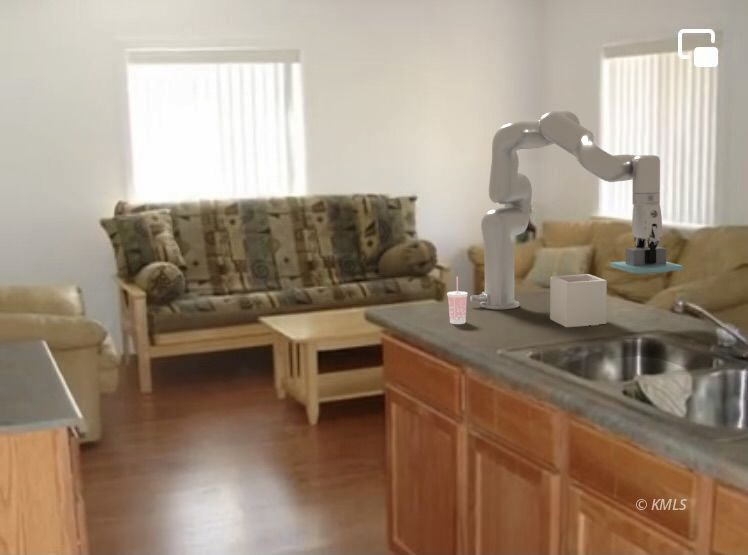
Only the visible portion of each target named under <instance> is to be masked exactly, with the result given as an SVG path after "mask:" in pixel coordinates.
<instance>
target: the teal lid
mask: <svg viewBox="0 0 748 555" xmlns="http://www.w3.org/2000/svg"><path fill="white" fill-rule="evenodd" d="M645 250H647V249H646V246H645V247H643V248H636V247H631V248H628V247H627V248H625V261H613V262H611V261H610V262H609V265H610V266H609V267H611V268H614V269H617V270H620V271H625V272H627V273H631V274H636V275H645V274H646V275H647V274H659V273H661V274H662V273H669V272H676V271H684V266H683V265H681V264H677V263H673V262H670V261H667V248H665V247H662V246H657V250H656V263H655V264H645Z"/></svg>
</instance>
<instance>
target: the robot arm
mask: <svg viewBox="0 0 748 555" xmlns="http://www.w3.org/2000/svg"><path fill="white" fill-rule="evenodd" d="M594 138H595V136H594V133H593V132H592V131H591V130H589V129H588V128H586V127H584V126H582V125H581V124H580V119H579V117H578V116H577V115H576V114H575V113H573V112H571V111H567V110H555V111H554V110H553V111H549V112H546V113H545V114H543V115H542V116H541V118H540V119H539V120H535V121H533V120H532V121H529V120H528V121H523V120H522V121H513V122H509V123H506V124H504V125H502V126H501V127H499V128H498V129H497V131H496V132H495V134H494V136H493V138H492V144H491V165H490V173H489V175H490V176H489V181H488V182H489V184H488V185H489V186H488V197H489V200H490V201H491V202H492V203H494V204H496V205H504V207H498V208H493V209H491V210H489V211H486V213H485V214H484V215H483V217H482V219H481V224H480V226H481V229H480V230H481V233H482V234H481V235H482V237H483V246H484V247H483V249H484V250H483V252H484V253H483V254H484V258H483V259H484V291H481V293H480V294H479V295H475V294H474V295H470V297H469V299H470V302H476V303H478V302H479V307H480V308H482V309H487V310H512V309H516V308H518V307H520V302H519V301H517V300H515V248H514V244H513V241H512V238H511V237H516V236H519V235H522V234H523V233H524V232H525V231H526V230H527V228H528V226H529V222H530V216H531V206H532V205H531V204H532V198H533V197H532V196H533V188H532V183H531V181H530V179H529V177H527V176H526V175H524V173H522V172H521V173H520V172H518V171H519V165H520V164H519V162H520V161H519V156H518V155H519V154H518V152H517V151H519V150H531V149H533V150H534V149H540V148H541V149H542V148H544V147H548V146H551V145H556V146H558V147H559V148H561V149H563V150H564V151H566V152H568V154H570V155H572V156H574V157H575V160H577V161H578V163H579V164H580V165H581V167H583V169H585V170H587V171H588V172H589V173H590V174H592V175H594V176H596V177H597V178H599V179H601V180H602V181H605V182H608V183H617V182H624V181H632V205H633V207H632V218H631V219H632V220H631V233H632V234H631V235H632V237H633V240H634V248H643V247H646V249H647V250H645V264H655V263H656V250H657V247H658V245H659V243H660V241H661V239H662V237H663V219H662V210H661V160H660V157H659V156H658V155H653V154H650V155H649V154H647V155H646V154H644V155H642V154H641V155H634V154H614V155H613V154H610V153H609V152H607V151H605V150H604V149H602V148H600V147H599V146H597V145H596V144H595V143H594Z"/></svg>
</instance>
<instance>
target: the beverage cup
mask: <svg viewBox="0 0 748 555" xmlns="http://www.w3.org/2000/svg"><path fill="white" fill-rule="evenodd" d="M446 295H447V299H448V301H447V302H448V312H449V313H448V314H449V323H450V324H451V325H452V324H453V325H463V324H465V323H466V319H467V318H466V317H467V300H468V299H467V298H468V292H466V291H459V276H457V275H456V290H454V291H449V292H447V293H446Z"/></svg>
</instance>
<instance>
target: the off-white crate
mask: <svg viewBox="0 0 748 555" xmlns="http://www.w3.org/2000/svg"><path fill="white" fill-rule="evenodd" d="M549 278H550V280H549V290H550V292H549V319H550V320H551V321H553V322H555V323H556V324H559V325H560V326H563V327H565V328H575V327H587V326H588V327H589V325H591V326H600V325H599V324H606V325H607V292H608V291H607V288H608V287H607V286H608V285H607V284H608V281H607V279H603V278H600V277H598V276H596V275H592V274H589V273H586V274H570V275H569V274H568V275H553V276H552V275H551V276H550V277H549Z"/></svg>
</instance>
